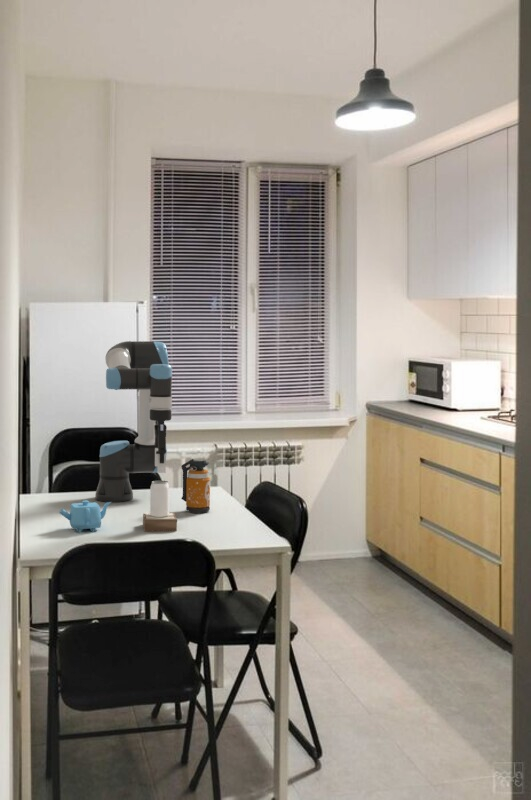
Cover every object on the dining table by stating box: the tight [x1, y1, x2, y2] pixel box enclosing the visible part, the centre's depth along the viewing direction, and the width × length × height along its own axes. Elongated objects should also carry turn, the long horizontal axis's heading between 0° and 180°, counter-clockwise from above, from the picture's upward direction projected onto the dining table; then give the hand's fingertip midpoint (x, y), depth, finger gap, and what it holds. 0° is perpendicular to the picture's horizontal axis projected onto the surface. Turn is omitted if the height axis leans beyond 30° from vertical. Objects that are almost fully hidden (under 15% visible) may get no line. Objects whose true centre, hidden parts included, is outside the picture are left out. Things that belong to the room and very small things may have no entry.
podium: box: [142, 512, 178, 533], centre depth 316 cm, size 11×11×4 cm
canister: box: [180, 458, 211, 514], centre depth 345 cm, size 9×11×20 cm
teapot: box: [58, 500, 113, 533], centre depth 312 cm, size 18×14×10 cm
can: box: [149, 480, 170, 518], centre depth 316 cm, size 6×6×12 cm
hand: (160, 469), depth 315 cm, fingers open, 13 cm apart
